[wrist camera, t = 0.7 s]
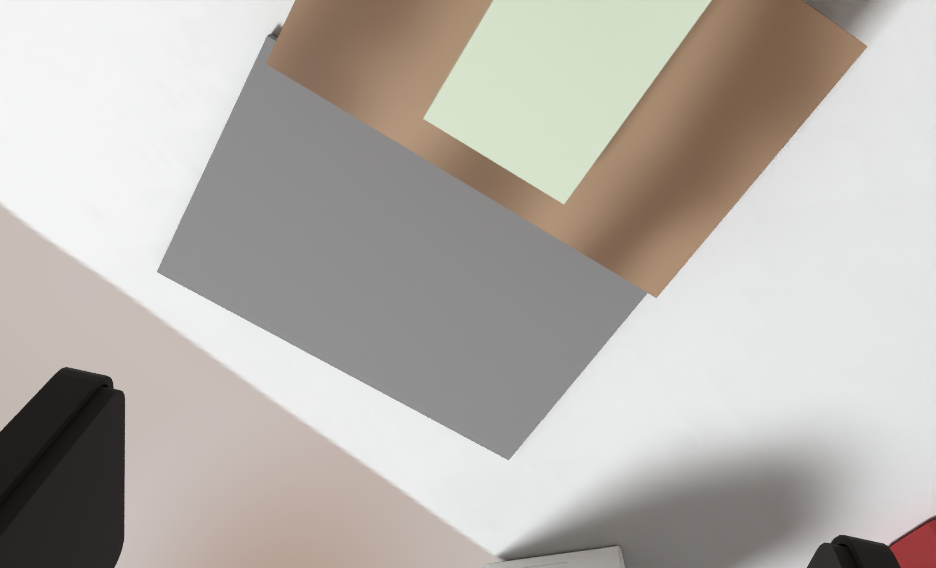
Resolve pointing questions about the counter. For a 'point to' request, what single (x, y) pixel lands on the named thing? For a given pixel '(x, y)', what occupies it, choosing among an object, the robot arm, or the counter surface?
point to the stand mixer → (917, 548)
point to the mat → (390, 266)
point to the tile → (556, 81)
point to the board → (631, 148)
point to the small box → (569, 560)
